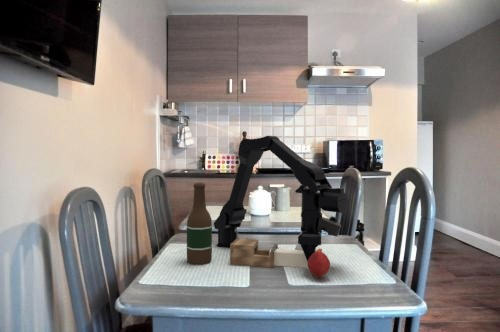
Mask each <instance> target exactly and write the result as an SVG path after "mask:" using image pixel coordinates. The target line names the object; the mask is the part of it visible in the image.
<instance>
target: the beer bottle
mask: <svg viewBox="0 0 500 332" xmlns="http://www.w3.org/2000/svg"><path fill="white" fill-rule="evenodd" d="M192 187H193V203H192V209H191V212H190V213H189V215H188V217H187V220H186V261H187V263H189V264H191V265H195V266H197V265H198V266H199V265H201V266H202V265H205V264H210V262H211V261H212V258H213V257H212V256H213V255H212V254H213V253H212V252H213V223H212V222H213V221H212V217H211V213H210V212H209V211H208V209H207V203H206V189H205V188H206V183H205V182H195V183H193V186H192Z"/></svg>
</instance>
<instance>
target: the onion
mask: <svg viewBox="0 0 500 332" xmlns="http://www.w3.org/2000/svg"><path fill="white" fill-rule="evenodd" d="M315 251H316V252H314V253H313V254H312V255H311V256H310V257H309V259H308V268H307V269H308V270H309V272H310V273H311V274H312V275H313V276H314V277H315V278H317V279H321V278H323V277H324V276H325V275H326V274H327V273H329V271H330V268H331V262H330V259H329V257H328V256H327V255H326V253H324V252H323V249H322V248H321V247H319V248H316V250H315Z"/></svg>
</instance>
